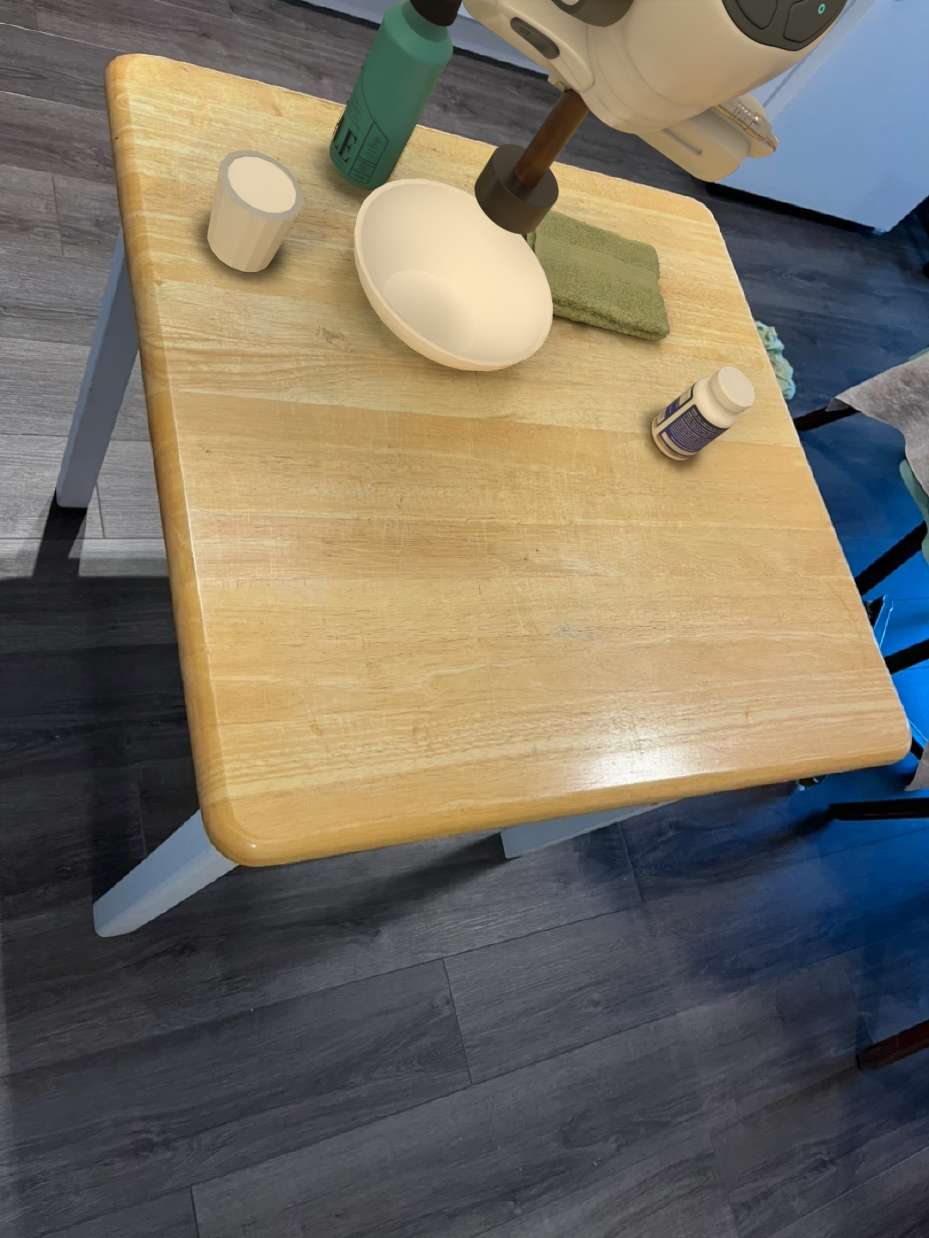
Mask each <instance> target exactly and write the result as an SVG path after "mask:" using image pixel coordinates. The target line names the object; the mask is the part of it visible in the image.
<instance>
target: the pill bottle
mask: <svg viewBox="0 0 929 1238" xmlns="http://www.w3.org/2000/svg"><path fill="white" fill-rule="evenodd" d="M755 400H756V392H755V388H754V386H753V384H752V382H751V380H750V379H749V378H748V377H747V375H746V374H745V373H744V372H743V371H741V370H740V369H738V368H736V367H735V366H732V365H725V366H723V367H721V368H720V369H718V370H717V371H716V372H714V373H713V375H712V376H705V377H701V378H700V379H698V380H697V381H695V382H694V383H693V384H692V385H690V387H689V388H687V389H686V390H685V391H683V392H682V393H681V394H680V395H679V396H678V397H677V398H675V399H674V400H673V401H672V402H671V403H669V404H668V405H667V406H666V407H665V408H664V409H662V411H660V412H659V413H658V414H657V415H656V416H654V418H653V420H652V423H651V435H652V438H653V440H654V443H655V445H656V446H657V448H658V449H659V450H660V451H661V452H662V453H663V454H664V455H665V456H667V457H669V458H671V459H672V460H674V461H687V460H689V459H690V458H691V457H694V455H696V454H697V453H699V452H700V451H701V450H702V449H704V448H705V447H706V446H708V445H710V444H711V443H712V442H713V441H714V440H716V439H717V438H718V437H720V436H721V435H722V434H724V433H726V431H728V430H729V429H730V428H732V427H733V426H734V425H735V424H737V422H738V421H739V418H740V415H741V413H743V412H745V411H746V410H748V409H750V408H751V407H752V406H753V405H754V403H755Z"/></svg>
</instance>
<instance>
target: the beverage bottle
mask: <svg viewBox="0 0 929 1238" xmlns="http://www.w3.org/2000/svg"><path fill="white" fill-rule="evenodd" d="M462 4H463V0H403V1H398V2H395V3H392V4H390V5H389V6H388V7H387V8H386V9H385V11H384V13H383V16H382V21H381V22H380V25H379V28H378V30H377V32H376V34H375V37H374V39H373V40H372V43H371V45H369V47H368V48H369V49H368V53H367V54H365V57H364V59H363V62H362V65H360V68H361V70H360V71H359V75H358V77H357V80H356V81H355V84H354V86H353V89H352V91H351V94H350V96H349V99H348V100H346V104H345V108H344V109H342V111H341V112H340V115H339V118H338V120H337V122H336V124H335V127H334V130H333V132H332V136H331V140H330V142H329V144H328V146H329V147H328V148H329V158H330V162H331V164H332V166H333V167H334V169H335V171H336V172H337V173H338V174H339V175H340V176H341V177H342V178H343V179H345V180H346V181H347V182H348V183H350V184H352V185H354V186H356V187H359V188H361V189H366V190H375V189H377V188H379V187H381V186H383V185H384V184H386V183H388V182H391V180H392V176H393V175H394V173H395V171H396V169H397V167H398V166H399V164H400V162H401V160H402V159H403V157H404V155H405V152H406V150H407V146H408V144H409V142H410V140H411V138H412V137H413V136H414V132H415V130H416V127H417V126H418V124H419V122H420V120H421V117H422V115H423V113H424V110H425V108H426V106H427V104H428V102H429V100H430V98H431V96H432V94H433V92H434V90H435V89H436V87H437V85H438V82H439V81H440V79H441V77H442V75H443V73H444V71H445V69H446V67H447V65H448V64H449V62H450V61H451V59H452V57H453V53H454V45H453V40H452V38H451V34H450V31H449V29H448V27H450V26H452V25H453V24H454V23H455V21H456V19H457V17H458V13H459V11H460V8H461V5H462Z"/></svg>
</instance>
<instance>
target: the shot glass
mask: <svg viewBox="0 0 929 1238" xmlns="http://www.w3.org/2000/svg"><path fill="white" fill-rule="evenodd" d="M304 196H305V195H304V192H303V189H302V187H301V184H300V182H299V180H298V179H297V178H296V176H295V175H294V173H292V171H291V170H290V169H289V168H288V167H287V166H286V165H284V164H283V163H282V162H280V161H278V160H277V159H276V158H275V157H273V156H270V155H267V154H265V153H263V152H260V151H258V150H249V149H239V150H236V151H231V152H229V153H227V154H226V155H225V157H224V158H223V159H222V160H221V161H220V163H219V168H218V174H217V180H216V185H215V190H214V196H213V201H212V207H211V213H210V217H209V222H208V228H207V236H206V240H207V243H208V245H209V247H210V250H211V251H212V253H213V254H214V256H216V257H217V259H218V260H219V261H221V262H222V263H223V264H225V265H227V266H228V267H230V268H231V269H234V270H238V271H240V272H242V273H243V272H244V273H258V272H260V271H262V270H265V269H266V268H267V267H268V266H269V265H270V263H271V262H272V260H273V259H274V257H275V256H276V254H277V252H278V250H279V249H280V247H281V245H282V244H283V242H284V240H285V238H286V236H287V235H288V233H289V232H290V230H291V228H292V227H293V224H294V222H295V221H296V219H297V217H298V216H299V214H300V212H301V210H302V209H303V206H304Z"/></svg>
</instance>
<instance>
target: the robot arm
mask: <svg viewBox="0 0 929 1238" xmlns="http://www.w3.org/2000/svg"><path fill="white" fill-rule="evenodd" d="M848 1H849V0H462V5H463V8H464V9H465V10H466V12H467V13H468V14H469V16H470V17H471V18H472V19H473V20H475V21H477V22H478V23H479V24H480V25H482V26H484V27H486V29H488V30H489V31H491V32H492V33H493V34H495V35H496V36H498V37H499V38H501V40H503V41H505V42H506V43H508V44H509V45H510V46H512V47H513V48H514V49H516V50H517V51H518V52H520V53H521V54H523V55H524V56H526V58H528V59H530V60H531V61H533V62H534V63H535V64H537V65H538V66H539V67H541V68H542V69H543V70H545V71H547V72H548V74H549V75H548V78H547V82H548V83H549V84H551V85H552V86H553V87H555V88H557V89H558V90H559V91H561V92H562V93H563V92H564V93H565V92H566V91H568V90H569V89H570V88H572V89H573V90H574V91H576V92H577V93H579V94H580V95H581V97H582V99H583V100H584V102H585V103H586V105H587V106H588V107H589V109H590V110H589V112H591V113H592V114H593V115H594V116H595V117H596V118H598V119H599V120H600V121H601V122H602V123H604V124H605V125H607V126H608V127H610V128H612V129H614V130H617V131H620V132H621V133H622V132H623V133H627V134H631V135H636V136H637V137H638V138H640V139H641V140H643V141H644V142H645V143H647V144H648V145H649V146H651V147H652V148H654V149H655V150H656V151H658V152H659V153H661V154H662V155H663V156H665V157H666V158H668V159H669V160H671V161H672V162H673V163H675V164H676V165H677V166H678V167H680V168H681V169H683V170H684V171H686V172H687V173H689V174H690V175H692V177H694V178H695V179H698V180H701V181H704V182H708V183H715V182H718V181H720V180H722V179H724V178H726V177H729V176H730V175H732V174H734V172H736V171H737V170H738V169H739V168H740V167H741V166H742V164H743V162H744V160H745V159H746V157H748V158H751V159H763V158H765V157H766V158H767V157H770V156H771V155H773V153H774V152H776V151H777V150H778V147H779V142H780V141H779V138H777V136H775V135H774V134H773V133H772V132H771V131H772V127H773V126H772V125H771V124H770V122H769V120H768V119H767V118H768V117H767V111H766V110H765V107H764V106H763V105H762V103H760V101H759V100H757V99H756V98H755V97H754V96H753V95H752V94H751V92H753V91H754V90H757V89H759V88H760V87H762V86H765V85H766V84H769V83H770V82H771V81H773V80H775V79H776V78H778V77H779V76H781V75H782V74H784V73H786V72H788V71H789V70H790V69H792V68H793V67H794V66H796V65H797V64H798V63H800V62H801V61H802V60H803V59H804V58H805V57H807V56H808V55H809V54H810V53H811V52H812V51H813V50H814V49H815V48H816V47H817V46H818V45H819V44H820V43H821V42H822V40H823V39H825V38H826V36H827V35H828V33H829V32H830V30H832V28H833V27H834V25H835V24H836V22H837V21H838V20H839V18H840V17H841V15H842V13H843V11H844V10H845V8H846V6H847V4H848Z"/></svg>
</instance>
